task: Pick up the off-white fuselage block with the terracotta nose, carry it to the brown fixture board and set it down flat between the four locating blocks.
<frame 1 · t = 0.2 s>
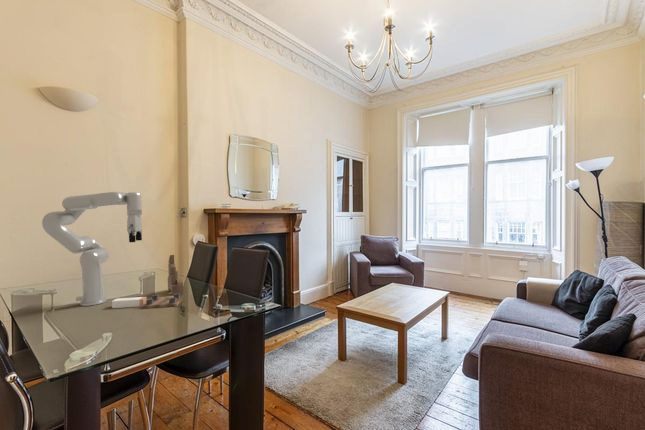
hand: (135, 241, 184), 36 cm above the table, tool pointing down, fingers open, 9 cm apart
wooden toy: (175, 292, 201), on the table
brown fixture board: (163, 303, 178), on the table
fuselage block: (129, 305, 174), on the table
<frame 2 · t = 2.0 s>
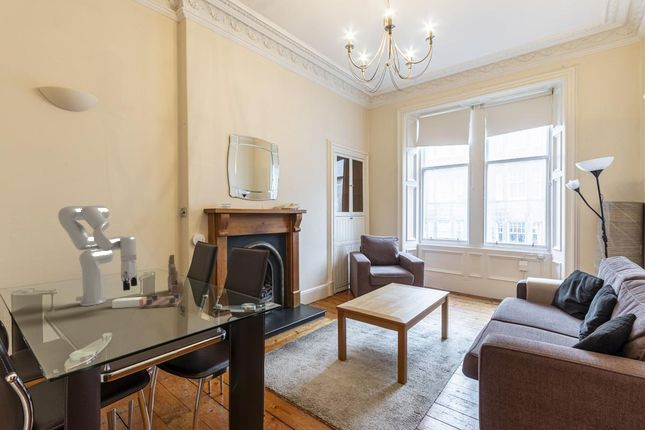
hand: (130, 288, 174), 10 cm above the table, tool pointing down, fingers open, 9 cm apart
nothing on the table moved.
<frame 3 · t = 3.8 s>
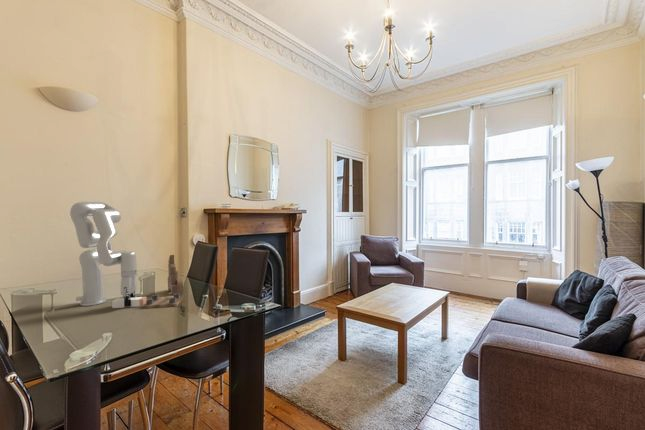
hand: (129, 304, 174), 1 cm above the table, tool pointing down, fingers closed on fuselage block, 5 cm apart
fuselage block: (129, 305, 174), on the table, touching gripper
everything else where it was.
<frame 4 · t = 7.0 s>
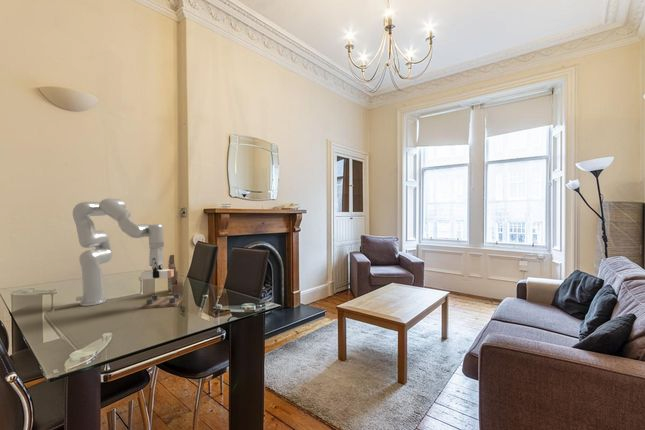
hand: (157, 276, 177), 16 cm above the table, tool pointing down, fingers closed on fuselage block, 5 cm apart
fuselage block: (157, 277, 177), point 15 cm above the table, touching gripper
everything else where it was.
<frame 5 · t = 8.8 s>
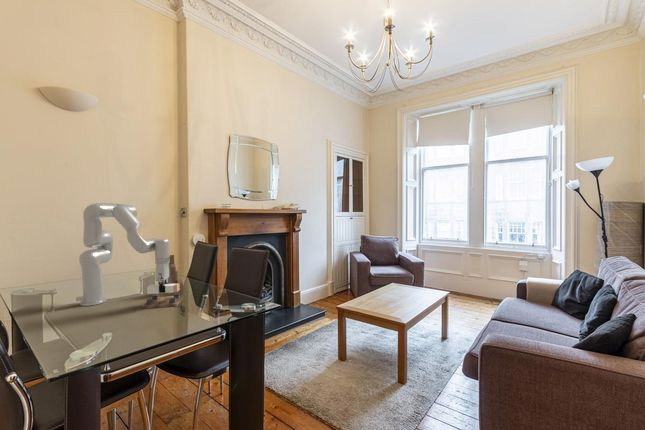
hand: (163, 290, 178), 7 cm above the table, tool pointing down, fingers closed on fuselage block, 5 cm apart
fuselage block: (163, 291, 178), point 7 cm above the table, touching gripper
everything else where it was.
when the fingers open (3 cm above the table, at t = 10.4 s): fuselage block drops 1 cm, resting on brown fixture board.
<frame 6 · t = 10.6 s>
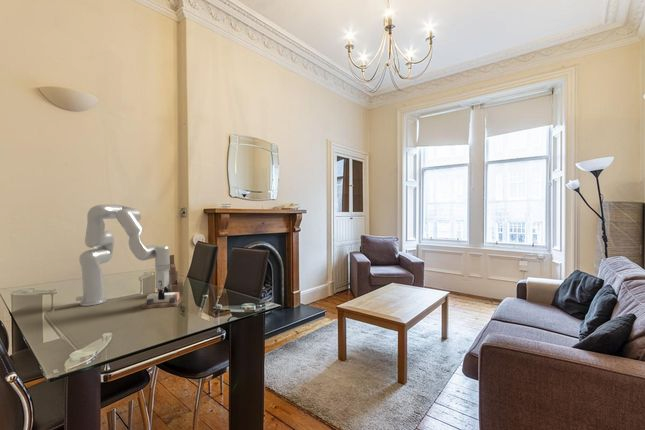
hand: (163, 297, 178), 3 cm above the table, tool pointing down, fingers open, 6 cm apart
fuselage block: (163, 300, 178), point 1 cm above the table, touching brown fixture board
everything else where it was.
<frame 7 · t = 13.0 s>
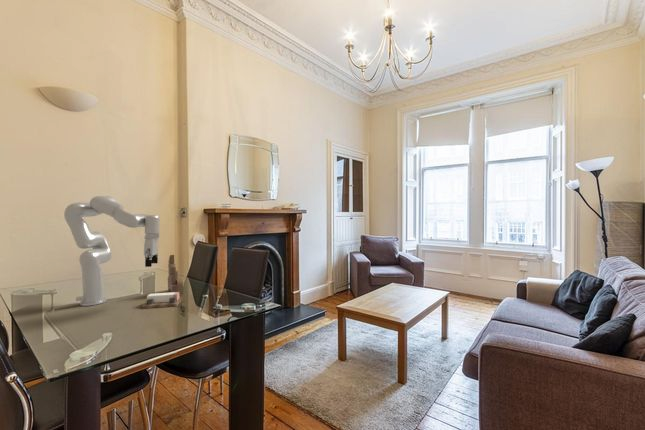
hand: (151, 264, 179), 22 cm above the table, tool pointing down, fingers open, 9 cm apart
nothing on the table moved.
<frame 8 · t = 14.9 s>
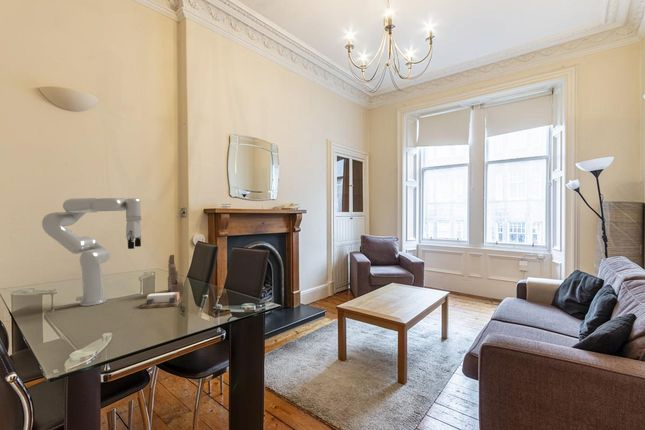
hand: (134, 247, 182), 32 cm above the table, tool pointing down, fingers open, 9 cm apart
nothing on the table moved.
at the end: fuselage block 0.0 cm off-centre on the brown fixture board, point 1.5 cm above the brown fixture board's base; fuselage block tilted 0°; the gripper is holding nothing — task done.
